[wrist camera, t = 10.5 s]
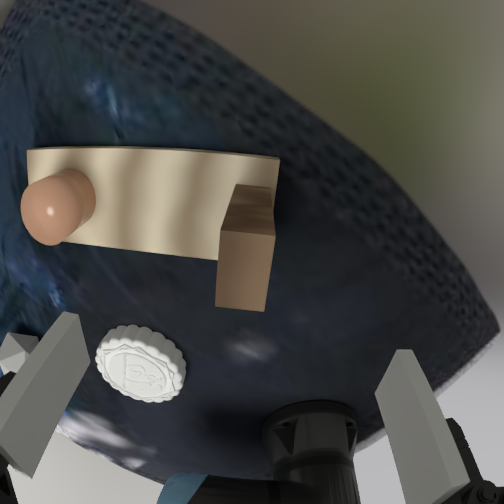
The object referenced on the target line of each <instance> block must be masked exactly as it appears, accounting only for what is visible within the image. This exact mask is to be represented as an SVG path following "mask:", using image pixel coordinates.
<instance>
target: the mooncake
mask: <svg viewBox="0 0 504 504" xmlns="http://www.w3.org/2000/svg"><path fill="white" fill-rule="evenodd" d="M95 360H96V362H97V363H98V366H97V367H98V370H99V371H100V372H101V373H103V374H102V376H103V378H104V379H105V380H106V381H108V382H110V385H111V386H112V387H113V388H115V389H118V390H120V392H121V393H122V394H124V395H127V396H131V397H132V398H133V399H136V400H143V401H145V402H152V401H154V402H162V401H163V400H171V399H172V398H173V396H176V395H178V394H179V392H180V389H181V388H182V387H183V383H184V379H185V375H186V369H185V367H186V361H185V360H184V359H183V358H182V352H181V351H180V350H179V349H176V348H175V344H174V343H173V342H172V341H170V340H168V339H165V337H164V336H163V335H162V334H161V333H159V332H153V331H152V330H151V329H149V328H147V327H141V328H139V327H138V326H136V325H129V326H127V327H126V326H123V325H120V326H118V327H117V328H116V329H111V330H109V332H108V334H107V335H106V336H104V338H103V340H102V341H101V343H100V345H99V347H98V348H97V355H96V357H95Z"/></svg>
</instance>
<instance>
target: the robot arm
mask: <svg viewBox="0 0 504 504" xmlns="http://www.w3.org/2000/svg"><path fill="white" fill-rule="evenodd" d="M89 364H90V359H89V355H88V352H87V348H86V344H85V340H84V336H83V332H82V328H81V324H80V320H79V316H78V315H77V314H73V313H68V312H63V313H62V314H61V315H60V317H59V318H58V319H57V320H56V321H55V323H54V324H53V325H52V327H51V328H50V329H49V330H48V332H47V333H46V334H45V335H44V337H43V338H42V339H41V341H40V342H39V343H38V345H37V346H36V347H35V349H34V350H33V351H32V353H31V354H30V355H29V357H28V358H27V359H26V361H25V362H24V364H23V365H22V366H21V368H20V369H19V371H18V372H17V373H15V372H12V371H9V372H8V373H7V374H5V375H4V376H2V377H1V378H0V504H18V501H17V498H16V495H15V492H14V488H13V485H12V481H11V478H10V474H9V471H8V469H7V467H8V464H10V465H11V466H12V467H13V468H14V469H15V470H16V471H17V472H19V473H21V474H23V475H25V476H27V477H29V478H31V479H32V477H33V475H34V473H35V471H36V468H37V466H38V464H39V462H40V460H41V457H42V455H43V453H44V451H45V449H46V447H47V445H48V442H49V440H50V438H51V436H52V434H53V432H54V430H55V428H56V426H57V424H58V422H59V420H60V418H61V416H62V414H63V412H64V410H65V408H66V407H67V405H68V403H69V401H70V399H71V397H72V395H73V393H74V391H75V389H76V388H77V386H78V384H79V382H80V380H81V378H82V377H83V375H84V373H85V371H86V369H87V368H88V366H89ZM375 396H376V399H377V402H378V405H379V408H380V412H381V415H382V418H383V421H384V425H385V428H386V431H387V435H388V438H389V442H390V445H391V448H392V452H393V455H394V459H395V463H396V467H397V471H398V474H399V478H400V482H401V486H402V490H403V494H404V498H405V502H406V504H504V487H496V486H495V485H494V484H493V483H492V482H490V481H486V480H483V478H482V476H481V474H480V472H479V469H478V467H477V464H476V462H475V459H474V457H473V454H472V452H471V450H470V448H469V447H468V446H469V445H468V443H467V441H466V439H465V436H464V434H463V431H462V429H461V427H460V426H459V425H458V423H456V421H455V420H454V419H453V418H448V419H445V418H444V415H443V413H442V411H441V409H440V407H439V405H438V402H437V400H436V398H435V396H434V394H433V391H432V389H431V387H430V385H429V383H428V381H427V379H426V377H425V375H424V373H423V371H422V369H421V367H420V365H419V363H418V361H417V359H416V357H415V355H414V353H413V351H412V350H396V352H395V354H394V356H393V359H392V361H391V363H390V365H389V367H388V369H387V371H386V373H385V375H384V377H383V378H382V380H381V382H380V384H379V386H378V388H377V390H376V392H375ZM357 433H358V425H357V420H356V416H355V413H354V412H353V410H352V409H350V408H349V407H348V406H346V405H344V404H341V403H337V402H332V401H307V402H301V403H297V404H293V405H290V406H287V407H284V408H282V409H280V410H278V411H276V412H274V413H273V414H271V415H270V416H269V417H268V418H267V419H266V420H265V422H264V423H263V426H262V444H263V446H264V449H265V451H266V454H267V456H268V459H269V461H270V464H271V466H272V469H273V474H274V481H270V480H252V479H239V478H229V477H220V476H212V475H209V474H204V475H203V474H193V473H185V472H179V473H176V474H174V475H172V476H171V477H170V478H169V479H168V480H167V482H166V483H165V485H164V487H163V489H162V491H161V493H160V496H159V498H158V501H157V504H361V502H360V496H359V491H358V485H357V480H356V475H355V470H354V464H353V456H354V451H355V445H356V439H357Z"/></svg>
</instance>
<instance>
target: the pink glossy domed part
mask: <svg viewBox="0 0 504 504" xmlns="http://www.w3.org/2000/svg"><path fill="white" fill-rule="evenodd" d="M95 206H96V195H95V191H94V188H93V185H92V183H91V182H90V180H89V179H88V177H87V176H86V175H85V174H83V173H82V172H80V171H78V170H76V169H64V170H61V171H59V172H57V173H54V174H52V175H49V176H47V177H45V178H43V179H40V180H38V181H36V182H34V183H32V184H30V185H29V186H28V187H27V188H26V190H25V191H24V193H23V196H22V200H21V214H22V218H23V222H24V224H25V226H26V228H27V230H28V231H29V233H30V234H31V235H32V236H33V237H34V238H35V239H36V240H37V241H39V242H41V243H43V244H45V245H56V244H58V243H60V242H61V241H63V240H64V239H65V238H66V237H68V236H69V235H70V234H72V233H73V232H74V231H75V230H77V229H78V228H79V227H81V226H82V225H83V224H84V223H86V222H87V221H88V220H89V219H90V218H91V217H92V215H93V213H94V210H95Z"/></svg>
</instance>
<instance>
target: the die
mask: <svg viewBox="0 0 504 504" xmlns="http://www.w3.org/2000/svg"><path fill="white" fill-rule="evenodd" d="M38 343H39V340H38V337H37V336H29V335H23V334H16V333H10V332H8V333H7V335H6V337H5V339H4V341H3V343H2V345H1V347H0V366H1V368H2V371H3V373H4V375H5V374H7V373H8V372H9V371H12V372H15V373H17V372H18V371H19V369H20V368H21V366H22V365H23V364H24V362H25V361H26V359H27V358H28V357H29V355H30V354H31V353H32V351H33V350H34V349H35V347H36V346H37V345H38Z"/></svg>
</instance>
